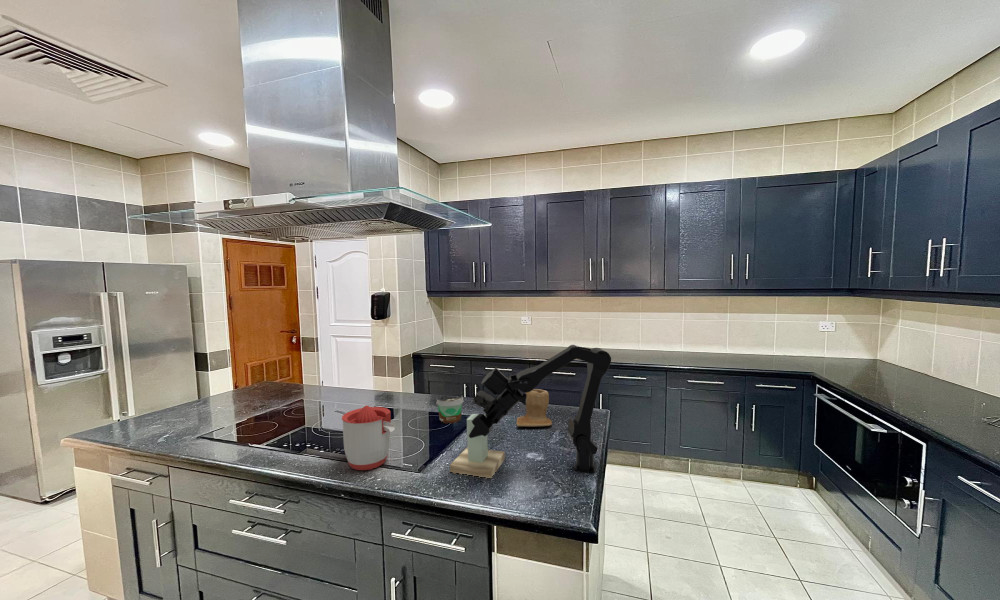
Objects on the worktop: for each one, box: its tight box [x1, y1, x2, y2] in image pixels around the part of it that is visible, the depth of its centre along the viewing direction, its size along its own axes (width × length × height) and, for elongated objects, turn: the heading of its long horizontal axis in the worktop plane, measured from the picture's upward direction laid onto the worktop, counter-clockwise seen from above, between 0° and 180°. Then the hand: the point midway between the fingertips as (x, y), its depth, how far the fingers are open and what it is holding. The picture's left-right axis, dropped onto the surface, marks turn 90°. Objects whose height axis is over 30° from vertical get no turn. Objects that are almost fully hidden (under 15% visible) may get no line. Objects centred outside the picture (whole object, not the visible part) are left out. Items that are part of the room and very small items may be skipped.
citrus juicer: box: [341, 405, 396, 471], centre depth 130 cm, size 16×17×20 cm
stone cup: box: [515, 388, 553, 428], centre depth 163 cm, size 15×12×15 cm
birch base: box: [449, 446, 506, 479], centre depth 127 cm, size 14×14×2 cm
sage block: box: [466, 413, 489, 463], centre depth 127 cm, size 5×5×14 cm
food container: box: [435, 395, 464, 424], centre depth 168 cm, size 12×6×10 cm, turn 114°
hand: (473, 432), depth 127 cm, fingers open, 7 cm apart
